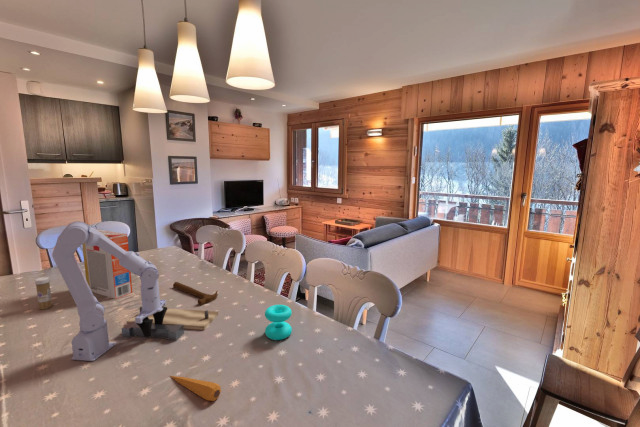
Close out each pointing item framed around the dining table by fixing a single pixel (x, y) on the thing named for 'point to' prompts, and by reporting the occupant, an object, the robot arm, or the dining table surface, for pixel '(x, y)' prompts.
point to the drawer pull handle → (154, 331)
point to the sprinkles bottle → (43, 292)
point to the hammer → (196, 293)
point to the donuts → (278, 322)
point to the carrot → (200, 387)
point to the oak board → (185, 318)
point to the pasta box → (107, 268)
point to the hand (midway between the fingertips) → (153, 331)
